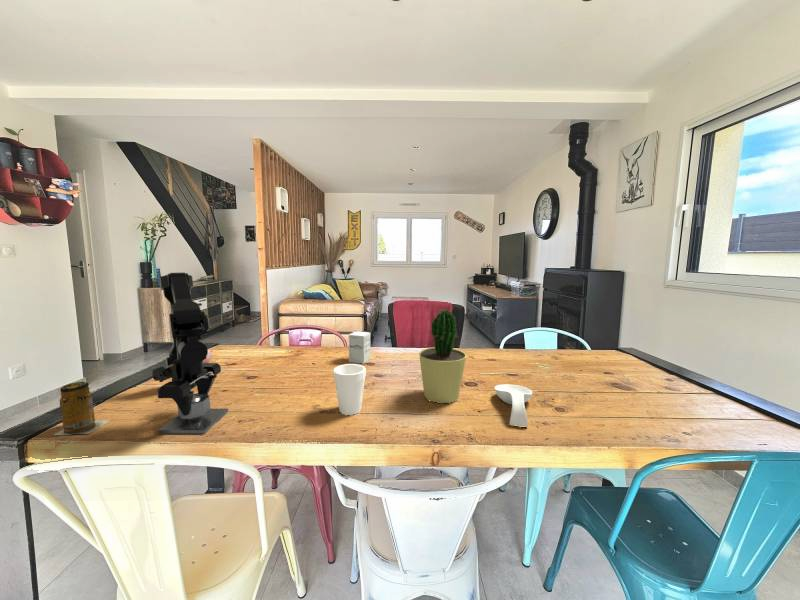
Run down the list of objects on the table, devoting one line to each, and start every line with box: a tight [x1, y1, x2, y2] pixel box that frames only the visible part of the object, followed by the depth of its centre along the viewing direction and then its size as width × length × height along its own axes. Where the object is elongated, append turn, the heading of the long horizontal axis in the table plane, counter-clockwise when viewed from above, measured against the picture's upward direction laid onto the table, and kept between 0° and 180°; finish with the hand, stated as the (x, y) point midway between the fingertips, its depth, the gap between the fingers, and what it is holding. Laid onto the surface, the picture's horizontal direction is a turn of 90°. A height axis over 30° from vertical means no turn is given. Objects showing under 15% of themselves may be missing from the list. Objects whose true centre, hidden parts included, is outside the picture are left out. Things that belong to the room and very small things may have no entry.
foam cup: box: [333, 363, 367, 416], centre depth 96 cm, size 10×9×13 cm
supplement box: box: [348, 331, 371, 365], centre depth 142 cm, size 7×7×13 cm
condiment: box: [53, 381, 111, 436], centre depth 85 cm, size 7×8×12 cm
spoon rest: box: [494, 383, 533, 428], centre depth 100 cm, size 24×12×7 cm, turn 167°
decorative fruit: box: [203, 349, 213, 363], centre depth 130 cm, size 9×8×10 cm
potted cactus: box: [418, 309, 467, 404], centre depth 106 cm, size 15×15×30 cm
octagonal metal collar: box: [177, 392, 211, 419], centre depth 89 cm, size 7×7×4 cm
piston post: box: [157, 396, 229, 435], centre depth 89 cm, size 12×12×7 cm
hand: (194, 408), depth 89 cm, fingers open, 7 cm apart
